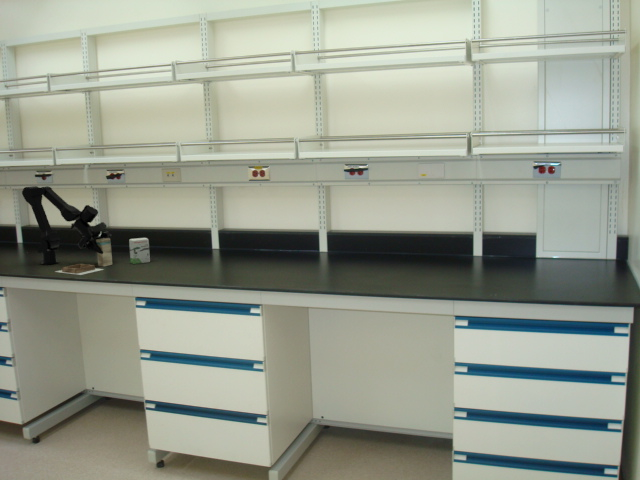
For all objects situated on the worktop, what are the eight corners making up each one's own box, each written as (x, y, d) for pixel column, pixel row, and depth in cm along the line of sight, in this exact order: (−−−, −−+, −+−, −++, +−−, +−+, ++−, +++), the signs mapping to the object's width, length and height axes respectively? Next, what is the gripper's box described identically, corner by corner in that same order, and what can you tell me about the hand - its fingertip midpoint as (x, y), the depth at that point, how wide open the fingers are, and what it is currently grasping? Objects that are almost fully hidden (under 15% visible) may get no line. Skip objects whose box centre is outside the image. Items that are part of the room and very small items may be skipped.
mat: (54, 272, 270) (54, 271, 269) (78, 267, 281) (78, 266, 281) (81, 275, 261) (81, 274, 261) (104, 269, 272) (104, 269, 272)
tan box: (98, 266, 281) (96, 239, 279) (106, 264, 286) (104, 238, 284) (104, 266, 279) (101, 240, 277) (112, 265, 284) (110, 238, 282)
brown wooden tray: (62, 271, 268) (61, 267, 268) (80, 267, 277) (80, 263, 277) (76, 273, 264) (76, 269, 263) (95, 269, 272) (94, 265, 272)
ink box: (133, 264, 284) (131, 240, 283) (130, 262, 288) (128, 239, 287) (150, 262, 289) (149, 238, 287) (147, 260, 293) (145, 237, 291)
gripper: (81, 220, 271) (103, 244, 270) (106, 215, 289) (127, 237, 287) (68, 236, 275) (90, 260, 273) (94, 230, 292) (115, 253, 291)
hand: (106, 252), depth 281 cm, fingers closed on tan box, 6 cm apart
